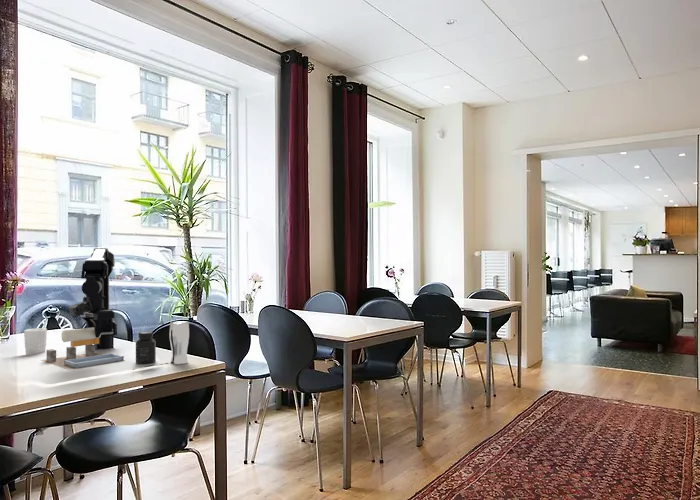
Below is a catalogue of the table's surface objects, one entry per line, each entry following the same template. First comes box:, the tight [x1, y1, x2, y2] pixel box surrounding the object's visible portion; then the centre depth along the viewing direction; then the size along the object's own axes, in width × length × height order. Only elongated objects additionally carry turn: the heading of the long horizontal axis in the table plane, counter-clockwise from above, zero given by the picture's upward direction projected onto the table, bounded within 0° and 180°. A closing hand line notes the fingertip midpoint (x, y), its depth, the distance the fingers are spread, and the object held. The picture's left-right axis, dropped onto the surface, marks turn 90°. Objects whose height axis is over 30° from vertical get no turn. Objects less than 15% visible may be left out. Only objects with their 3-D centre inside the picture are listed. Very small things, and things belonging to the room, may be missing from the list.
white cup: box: [23, 327, 48, 356], centre depth 211 cm, size 8×8×10 cm
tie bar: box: [70, 338, 99, 348], centre depth 203 cm, size 10×3×2 cm, turn 140°
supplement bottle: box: [135, 331, 157, 368], centre depth 192 cm, size 7×7×12 cm
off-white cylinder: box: [61, 327, 101, 343], centre depth 188 cm, size 12×4×4 cm, turn 140°
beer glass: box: [169, 320, 190, 366], centre depth 196 cm, size 7×7×15 cm
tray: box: [64, 353, 125, 369], centre depth 192 cm, size 17×9×2 cm, turn 140°
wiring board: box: [40, 344, 126, 371], centre depth 196 cm, size 20×24×5 cm
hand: (94, 336), depth 192 cm, fingers closed on off-white cylinder, 4 cm apart
